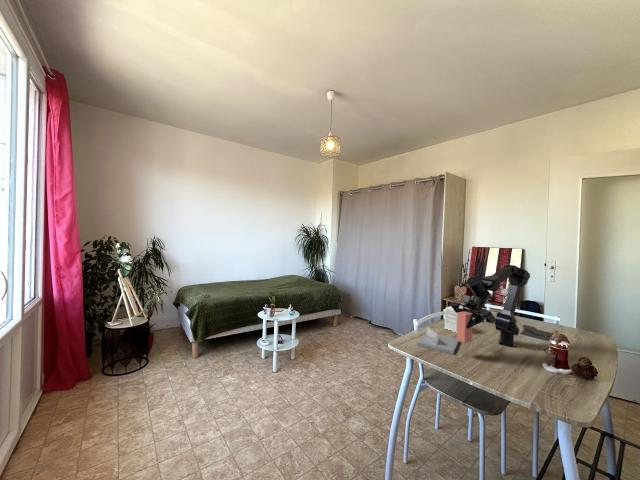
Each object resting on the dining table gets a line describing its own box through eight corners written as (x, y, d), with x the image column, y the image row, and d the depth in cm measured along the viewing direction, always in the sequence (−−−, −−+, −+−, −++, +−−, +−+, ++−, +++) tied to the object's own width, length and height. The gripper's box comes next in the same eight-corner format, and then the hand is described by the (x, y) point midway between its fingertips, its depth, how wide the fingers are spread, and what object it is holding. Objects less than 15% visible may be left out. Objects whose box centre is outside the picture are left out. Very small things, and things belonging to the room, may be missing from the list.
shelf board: (426, 334, 146) (426, 331, 146) (458, 341, 137) (459, 339, 137) (417, 345, 131) (417, 342, 131) (453, 354, 122) (453, 351, 122)
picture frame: (524, 329, 160) (514, 337, 147) (524, 324, 160) (514, 332, 147) (559, 337, 148) (552, 347, 135) (559, 332, 148) (552, 341, 135)
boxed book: (463, 338, 124) (464, 311, 124) (471, 341, 120) (472, 313, 120) (456, 339, 122) (457, 312, 121) (464, 343, 118) (465, 315, 118)
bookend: (426, 336, 139) (426, 327, 139) (428, 336, 139) (429, 327, 139) (435, 344, 129) (436, 334, 129) (438, 344, 129) (438, 334, 129)
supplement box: (451, 326, 159) (452, 305, 159) (463, 330, 153) (464, 308, 153) (444, 328, 155) (444, 307, 155) (456, 333, 149) (457, 310, 149)
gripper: (453, 284, 131) (436, 309, 126) (492, 293, 114) (474, 321, 109) (463, 299, 134) (447, 324, 130) (502, 309, 118) (485, 338, 113)
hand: (462, 326), depth 120 cm, fingers closed on boxed book, 4 cm apart
